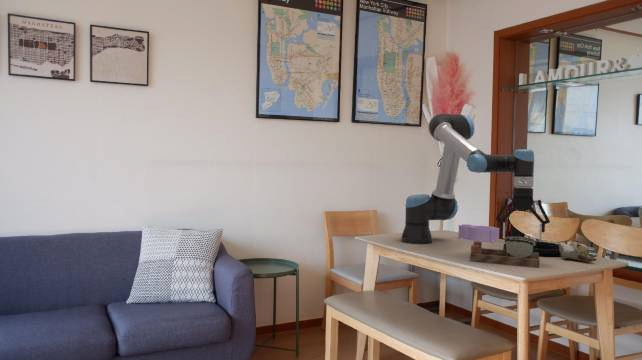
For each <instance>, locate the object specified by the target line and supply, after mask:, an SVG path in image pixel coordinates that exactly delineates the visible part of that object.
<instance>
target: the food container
mask: <svg viewBox="0 0 642 360" xmlns="http://www.w3.org/2000/svg"><path fill="white" fill-rule="evenodd" d="M535 241H536V240H535V239H534V238H531V237H525V236H515V235H514V236H513V235H512V236H505V239H504V241H503V242H504V243H506V253H507V257H517V258H529V259H532V254H533V247H534V246H535Z"/></svg>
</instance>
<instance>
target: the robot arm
mask: <svg viewBox="0 0 642 360" xmlns="http://www.w3.org/2000/svg"><path fill="white" fill-rule="evenodd" d="M427 128H428V132H429V134H430V136H431V137H432V138H433V139H434V140H436V141H437V142H440V143H441V142H442V143H443V144H444V145H443V151H442V156H441V160H440V165H439V170H438V171H439V172H438V176H437V180H436V187H435V189H434V190H433V191H432V192H431V195H430V194H423V193H422V194H412V195H409V196H407V198H406V200H405V223H404V224H405V226H404V229H403V231H402V233H401V238H400V240H401V242H403V243H407V244H415V245H417V244H418V245H419V244H420V245H422V244H423V245H424V244H432V242H433V236H432V233H431V230H430V221H447V220H451V219H453V218H455V216H456V214H457V212H458V210H459V205H458V200H457V199H456V196H455V194H454V188H455V185H456V184H455V183H456V179H457V174H458V170H459V164H460V159H462V160H464V161H465V162H466V167H467V170H468V171H470V172H471V173H478V174H480V173H492V174H493V173H498V174H505V173H506V174H513V187H514V188H513V193H512V199H510V198H505V199H504V203H503V205H502V208H501V209H500V211H499V212H498V214H497V216H496V217H495V221H496V222H497V221H498V222H499V225H500V226H499V231H502V239H504V240H505V238H506V221H505V220H507V219H508V218H509V217H510V215H511V214H512V213H514V211H515V210H518V211H524V212H525V211H530V212H531V213H532V215H534V216H535V218H537V220H538V222H540V223H539V231H538V232H539V234H538V235H539V236H538V237H539V238H538V241H540V242H542V237H543V236H542V233H545V232H546V225H547V224H550V223H551V221H550V219H549V216H548V215H547V213H546V211H545V209H544V207H543V205H542V200H541V199H537V200H536V199H535V200H534V189H533V187H534V180H535V179H534V176H535V175H534V171H535V170H534V168H535V153H534V150H532V149H525V148H524V149H515V150H514V153H513V154H486V153H485V152H484V151H482V150H480V148H478V147H477V146H476V145H474V144H473V143H472V142H470V141H469V140H470V139H472V137H473V136H474V135H475V134H474V133H475V124H474V122H473V119H472V117H470V116H469V115H465V114H460V113H459V114H456V113H438V114H436V115H433V117H432V118H431V119H430V120H429V123H428V127H427ZM511 203H512V205H513V207H512V208H511V209H510V210H509V211H508V212H507V213H505V215H504V216H503V217H502V215H503V213H504V211H505V210H506V208H507V206H508V205H510V204H511ZM534 204H536V206H538V208H539V210H540V212H541V214H542V216H543V217H544V219H543V218H542V217H541V216H540V215H539V213H538V212H536V211H535V209H534V207H532V206H533V205H534ZM501 217H502V218H501Z"/></svg>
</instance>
